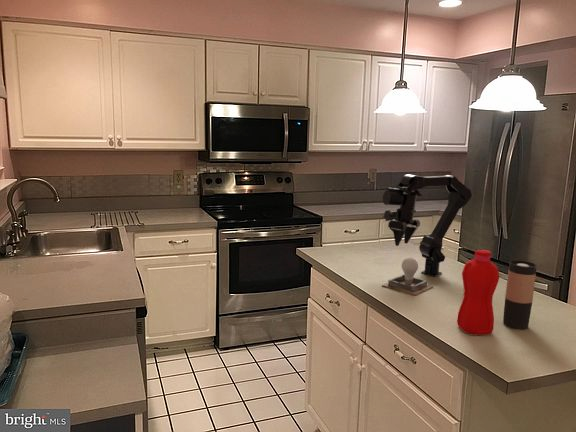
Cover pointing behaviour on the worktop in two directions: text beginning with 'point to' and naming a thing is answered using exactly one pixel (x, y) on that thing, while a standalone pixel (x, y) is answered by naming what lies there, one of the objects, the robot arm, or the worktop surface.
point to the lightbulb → (409, 269)
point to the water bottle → (478, 295)
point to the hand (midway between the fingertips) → (401, 244)
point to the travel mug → (519, 294)
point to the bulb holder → (414, 289)
